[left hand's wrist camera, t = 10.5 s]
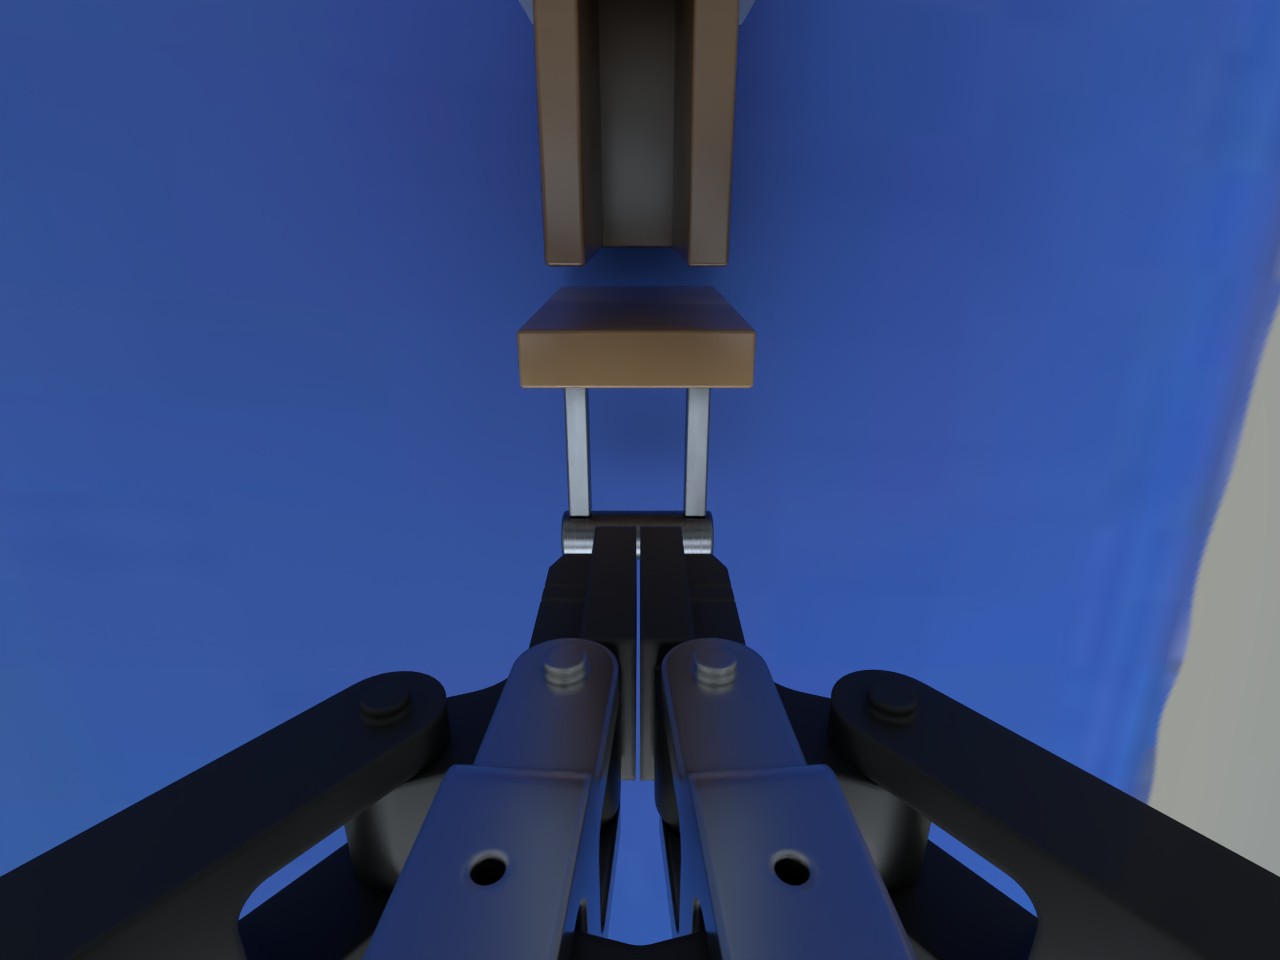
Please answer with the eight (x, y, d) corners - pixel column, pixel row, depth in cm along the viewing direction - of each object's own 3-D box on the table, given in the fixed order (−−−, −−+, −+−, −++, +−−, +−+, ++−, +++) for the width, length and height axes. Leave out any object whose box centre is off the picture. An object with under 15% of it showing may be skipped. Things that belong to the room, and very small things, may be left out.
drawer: (707, 496, 24) (739, 633, 17) (568, 496, 24) (535, 633, 17) (740, -393, 16) (833, -951, 8) (532, -393, 16) (433, -950, 8)
